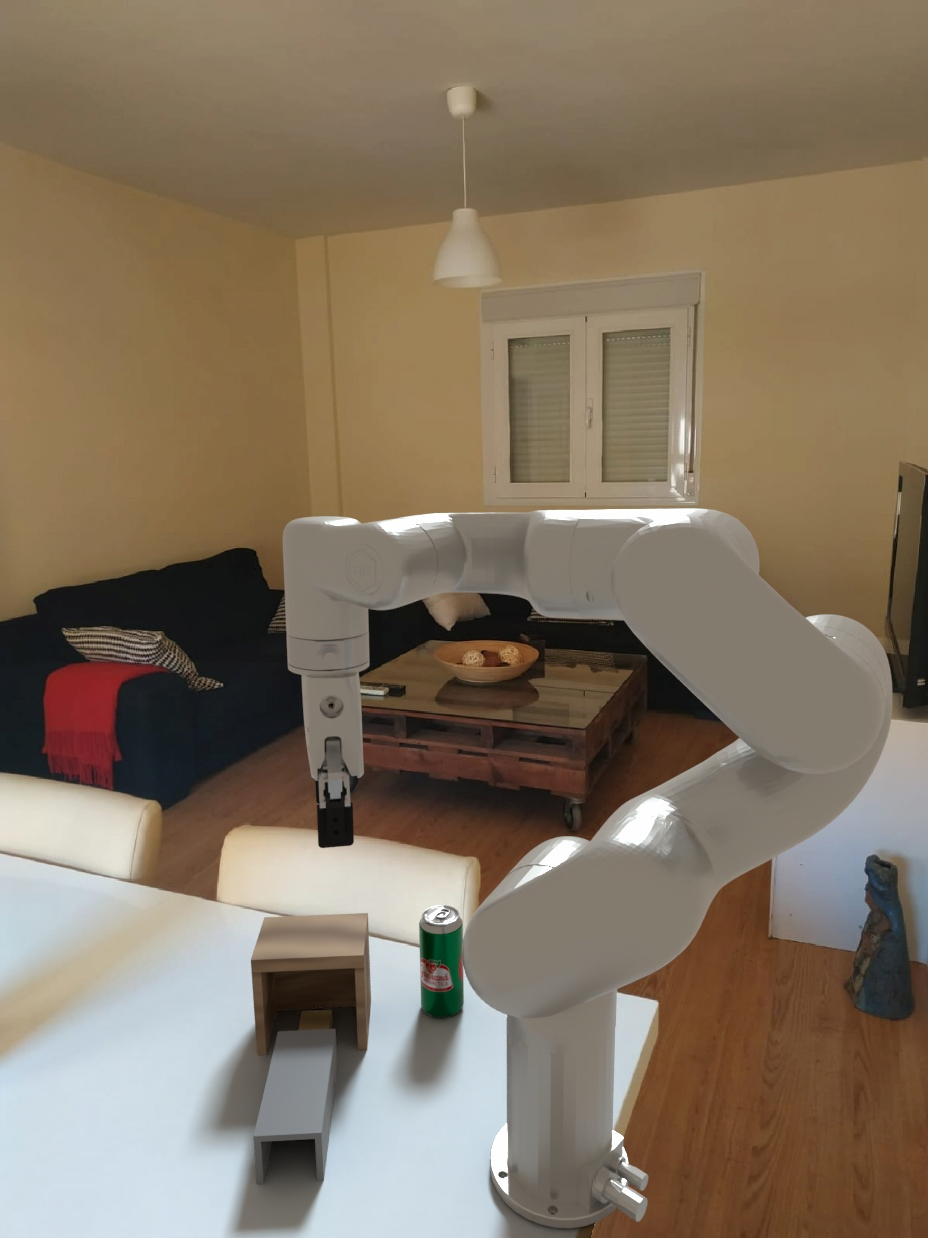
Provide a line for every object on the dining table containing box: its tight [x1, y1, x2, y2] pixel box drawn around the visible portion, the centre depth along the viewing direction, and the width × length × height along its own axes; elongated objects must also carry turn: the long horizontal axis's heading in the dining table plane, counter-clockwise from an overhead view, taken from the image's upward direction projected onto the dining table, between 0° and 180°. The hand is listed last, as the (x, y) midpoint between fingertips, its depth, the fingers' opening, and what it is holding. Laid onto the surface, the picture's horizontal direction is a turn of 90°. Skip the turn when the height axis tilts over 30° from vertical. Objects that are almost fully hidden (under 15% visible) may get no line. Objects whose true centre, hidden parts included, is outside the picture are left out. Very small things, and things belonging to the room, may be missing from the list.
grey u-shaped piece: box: [253, 1028, 338, 1185], centre depth 84 cm, size 14×6×5 cm, turn 3°
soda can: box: [418, 904, 465, 1019], centre depth 100 cm, size 5×5×12 cm
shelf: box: [250, 912, 372, 1056], centre depth 97 cm, size 8×12×12 cm
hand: (334, 822), depth 83 cm, fingers open, 9 cm apart
